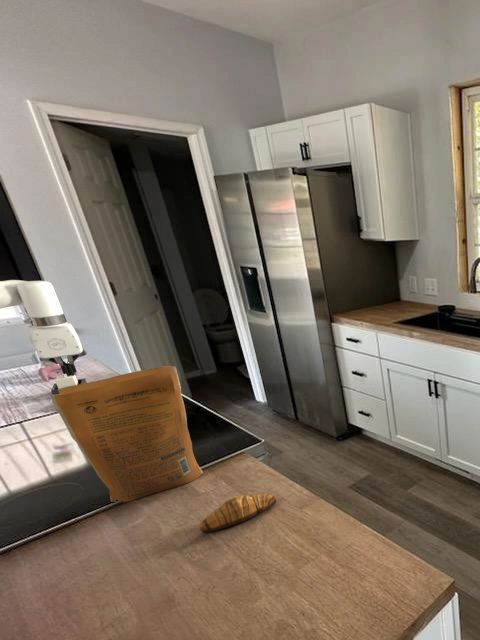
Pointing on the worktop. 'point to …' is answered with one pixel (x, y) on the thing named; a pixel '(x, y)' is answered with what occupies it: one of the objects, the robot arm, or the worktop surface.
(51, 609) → the worktop surface
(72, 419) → the pancake mix bag
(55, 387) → the adapter
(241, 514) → the croissant
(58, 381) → the charger head
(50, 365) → the video game controller
